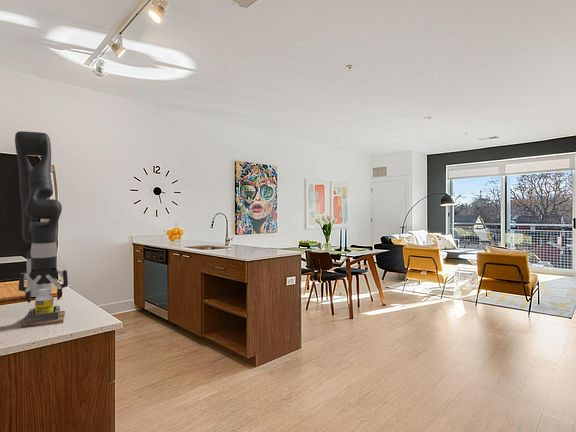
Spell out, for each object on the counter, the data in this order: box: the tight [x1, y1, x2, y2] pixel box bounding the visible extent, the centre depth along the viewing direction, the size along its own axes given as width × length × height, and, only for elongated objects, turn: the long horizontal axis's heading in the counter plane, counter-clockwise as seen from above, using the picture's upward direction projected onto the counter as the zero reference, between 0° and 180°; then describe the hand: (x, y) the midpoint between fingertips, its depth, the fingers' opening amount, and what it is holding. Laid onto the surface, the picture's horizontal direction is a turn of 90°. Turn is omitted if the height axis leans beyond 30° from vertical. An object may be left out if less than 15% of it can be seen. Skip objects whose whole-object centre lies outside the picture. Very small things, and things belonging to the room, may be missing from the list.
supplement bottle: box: [34, 289, 54, 314], centre depth 124 cm, size 5×5×10 cm
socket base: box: [19, 305, 66, 329], centre depth 124 cm, size 12×12×4 cm
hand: (44, 300), depth 124 cm, fingers open, 8 cm apart
